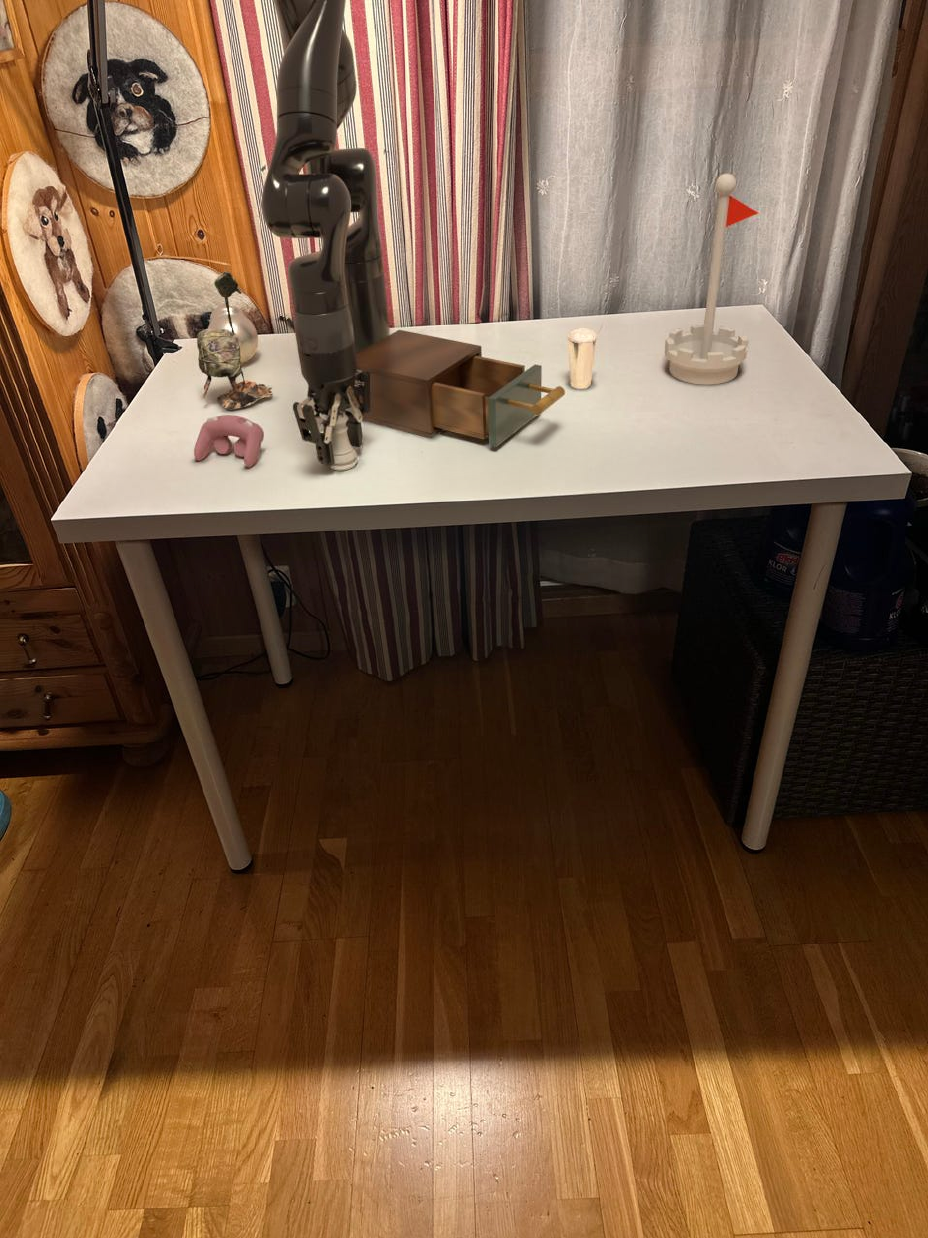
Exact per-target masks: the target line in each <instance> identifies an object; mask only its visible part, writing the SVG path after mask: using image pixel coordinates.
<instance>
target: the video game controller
mask: <svg viewBox="0 0 928 1238" xmlns="http://www.w3.org/2000/svg"><path fill="white" fill-rule="evenodd" d="M230 437H235V438H238V439H237V440H236V441H235V443H234V444H233V443H232V441H231V439H230ZM264 438H265V433H264V429H263V428H262V426H261V425H259V424H258V423H256V422H253V421H251V420H250V419H249V418H246V417H243V416H240V415H234V414H233V415H232V414H226V415H225V414H222V415H217V416H212V417H208V418H207V419H206V420H205V422H204V423H203V424H202V425H201V427H200V431H199V433H198V436H197V439H196V442H195V444H194V448H193V456H194V459H196V461H197V462H201V461H203V460H204V459H205V458H206V457H207V455H208V453H209V452H210V450H211V448H212V446H214V449H215V450H216V452H217V453H218V454H219V455H227V454H229V453H231V452H232V450H233V451H234V453H235V455H237V456H238V457H243V462H244V465H245V467H247V468H252V467H253V466H254V465H255V463H257V460H258V458H259V455H260V451H261V445H262V443H263V441H264Z"/></svg>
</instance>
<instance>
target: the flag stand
mask: <svg viewBox="0 0 928 1238" xmlns="http://www.w3.org/2000/svg"><path fill="white" fill-rule="evenodd" d="M714 187H715V191H716V192H717V194H718V201H717V202H718V203H717V210H716V219H715V220H716V221H715V229H714V236H713V246H712V251H711V252H712V254H711V261H710V270H709V279H708V288H707V295H706V303H705V304H706V305H705V312H704V322H703V324H694V325H693V324H691V325H690V331H689V332H683V329H681V328H675V329H672V330H671V331H670V332H669V333H668V338H667V337H666V338H665V343H664V355H665V357H666V358H667V359H668V360H669V367H668V368H669V373H670V375H671V376H672V377H673V378H675V379H677V380H679V381H682V382H685V383H689V384H694V385H705V386H707V385H719V384H724V383H727V382H730V381H732V380H733V379H735V378H736V377H737V376H738V371H739V365H740V364H741V363H743V362H744V361H745V360H746V358H747V356H748V348H749V343H750V342H749V341H750V340H749V338H748V336H747V335H745V334H739V335H738V337H736V336H735V334H736V329H734V328H731V327H727V326H719V329H718V332H716V331H714V326H715V318H716V311H717V302H718V301H717V300H718V294H719V293H718V292H719V286H720V278H721V269H722V260H723V254H724V245H725V236H726V228H728V227H730V226H732V225H734V224H737V223H740V222H742V221H743V220H746V219H749V218H751V217H753V216H755V215H758V214H759V212H758V211H756V210H754V209H753V208H751V207H750V206H748V205H746V204H745V203H743V202H742V201H740V200H738V199H736V198H735V197H733V196H732V195H731V194H732V193H733V192H734V191H735V190H736V187H737V180H736V178H735V176H734V175H732V174H731V173H723V174H721V175H720V176H719V177H718V178H717V179H716V182H715V186H714Z"/></svg>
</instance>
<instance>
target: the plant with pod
mask: <svg viewBox="0 0 928 1238" xmlns="http://www.w3.org/2000/svg"><path fill="white" fill-rule="evenodd" d="M213 284H214V286H215V288H216V290H217V292H218V293H219V295H220V296H221V297H222V298H224V304H226V308H227V312H228V319H229V323H230V327H231V331H230V330H229V329H227V330H226V329H221V330H218V329H208V328H205V329H203V330H201V331H199V332H198V333H197V334H196V346H197V349H198V367H199V370H200V371H201V373H202V374H205V375H206V377H207V378H206V380H205V384H204V385H203V392H202V396H201V399H205V397H206V395H207V393H208V390H209V389H210V385H211V383H212V379H213V378H227V379H228V381H229V383H230V386H231V389H229V390H228V391H227V392H224V393H221V394H219V395H218V396H217V402H218V403H219V404H220V406H221V407H222V408H223V409H225V410H227V411H228V410H230V411H232V410H237V409H242V408H244V407H247V406H251V405H253V404H255V403H256V402H257V401H259V400H263V398H271V397H273V391H271V390H272V387H267V386H266V384H263V383H259V384H257V382H256V381H251V380H249V379H247V380H245V376H244V373H243V368H242V364H241V361H240V359H241V356H240V342H239V341H238V337H237V336H236V334H235V333H234V329H233V326H232V321H231V316H230V311H229V310H230V309H229V306H230V303H229V298H230V297H232V296H233V294H235V293H237V294H239V295H242V293H243V292H242V291H241V290H240V289H239V288H238V287H239V283H238V282H237V279H235V277H234V276H233V274H231V272H229V270H228V271H227V270H224V271H223V272H222V273H220V274H219V275H218V276H217V277H216V279H215V280H214V281H213ZM194 330H195V331H197V330H198V328H195V329H194ZM240 375H241V377H242V381H240V382H237V381H236V380H237V377H239V376H240ZM212 377H213V378H212Z"/></svg>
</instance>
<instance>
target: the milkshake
mask: <svg viewBox="0 0 928 1238" xmlns="http://www.w3.org/2000/svg"><path fill="white" fill-rule="evenodd" d="M602 327H603V325H601V326H600V328H599V330H598V332H597V334H596V332H595V331H594V330H593V329H590V328H587V327H579V328H574V329H572V330H570V332H569V333H568V335H567V348H568V363H569V365H568V366H569V383H570V384H569V385H570V386H571V388H573V389H580V390H581V389H582V390H584V389H588V388H589V387H590V386H592V378H593V368H594V359H595V352H596V345H597V338H598V335H599V334H600V331H601V329H602Z"/></svg>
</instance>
